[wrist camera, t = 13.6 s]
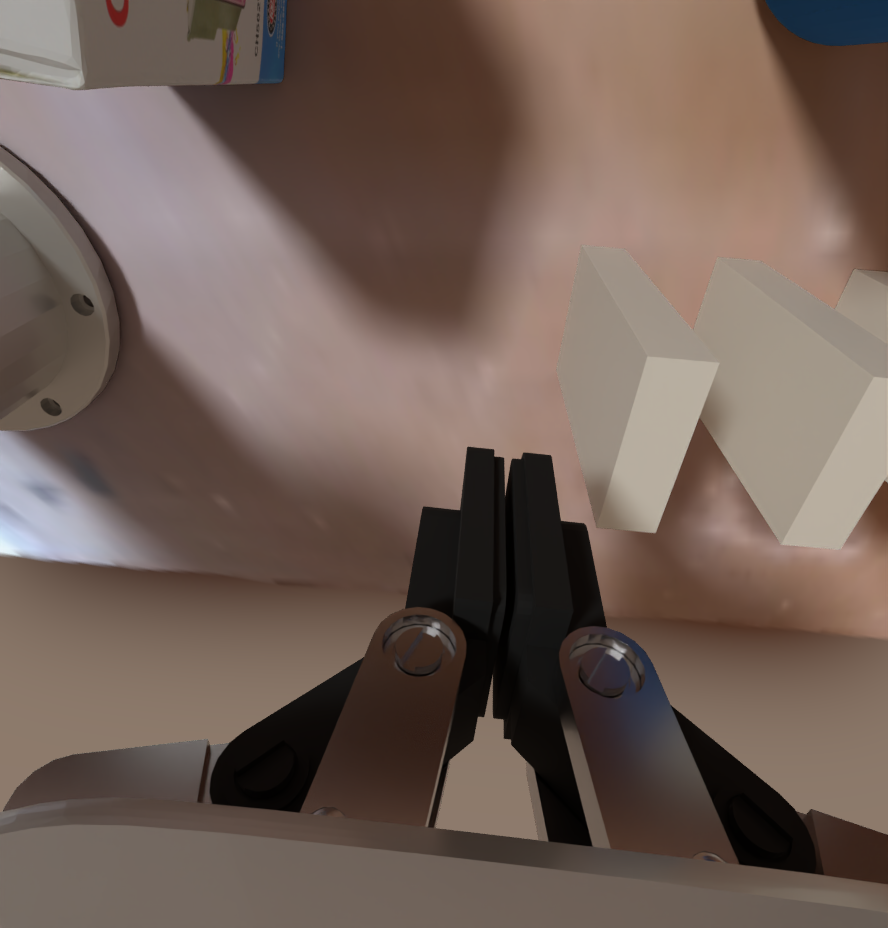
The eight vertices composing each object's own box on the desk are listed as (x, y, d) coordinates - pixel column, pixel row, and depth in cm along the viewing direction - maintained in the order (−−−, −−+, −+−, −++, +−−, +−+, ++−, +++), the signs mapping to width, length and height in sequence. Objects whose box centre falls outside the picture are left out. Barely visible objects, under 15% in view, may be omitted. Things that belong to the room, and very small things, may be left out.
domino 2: (676, 380, 24) (781, 544, 15) (717, 257, 21) (874, 376, 12) (714, 383, 24) (840, 549, 15) (761, 260, 21) (946, 383, 12)
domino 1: (556, 370, 24) (596, 527, 15) (581, 244, 21) (647, 356, 12) (594, 373, 24) (655, 533, 15) (624, 248, 21) (719, 362, 12)
